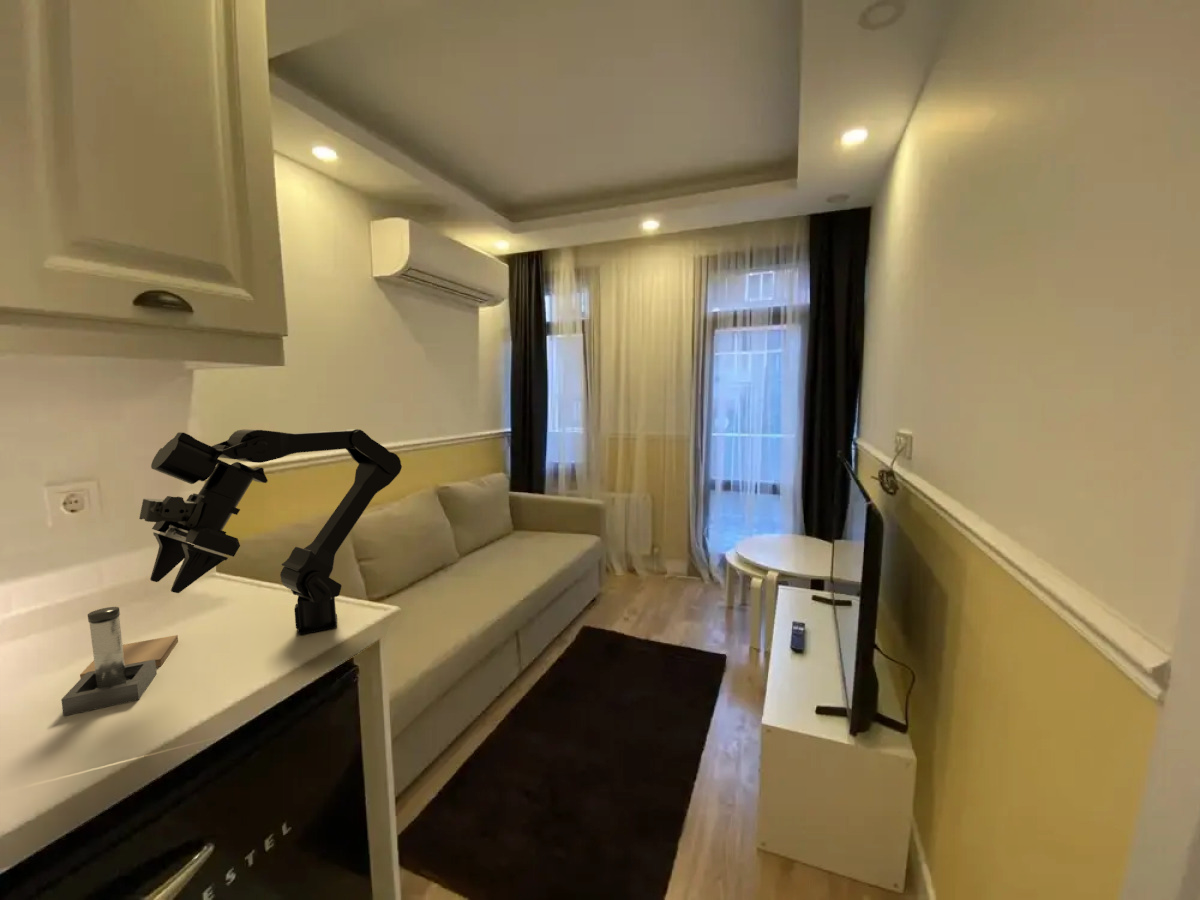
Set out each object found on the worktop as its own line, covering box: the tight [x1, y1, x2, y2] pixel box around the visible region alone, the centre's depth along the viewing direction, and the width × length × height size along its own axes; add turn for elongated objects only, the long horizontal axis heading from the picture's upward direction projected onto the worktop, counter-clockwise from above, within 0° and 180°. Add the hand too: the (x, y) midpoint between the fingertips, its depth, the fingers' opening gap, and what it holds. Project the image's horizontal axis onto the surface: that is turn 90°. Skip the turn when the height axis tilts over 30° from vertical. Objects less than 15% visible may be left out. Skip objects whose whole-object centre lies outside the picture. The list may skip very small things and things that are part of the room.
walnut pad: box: [79, 634, 179, 679], centre depth 87 cm, size 10×10×1 cm
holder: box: [60, 659, 157, 717], centre depth 77 cm, size 8×8×2 cm
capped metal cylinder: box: [87, 606, 132, 689], centre depth 76 cm, size 5×5×13 cm
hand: (163, 586), depth 80 cm, fingers open, 9 cm apart
